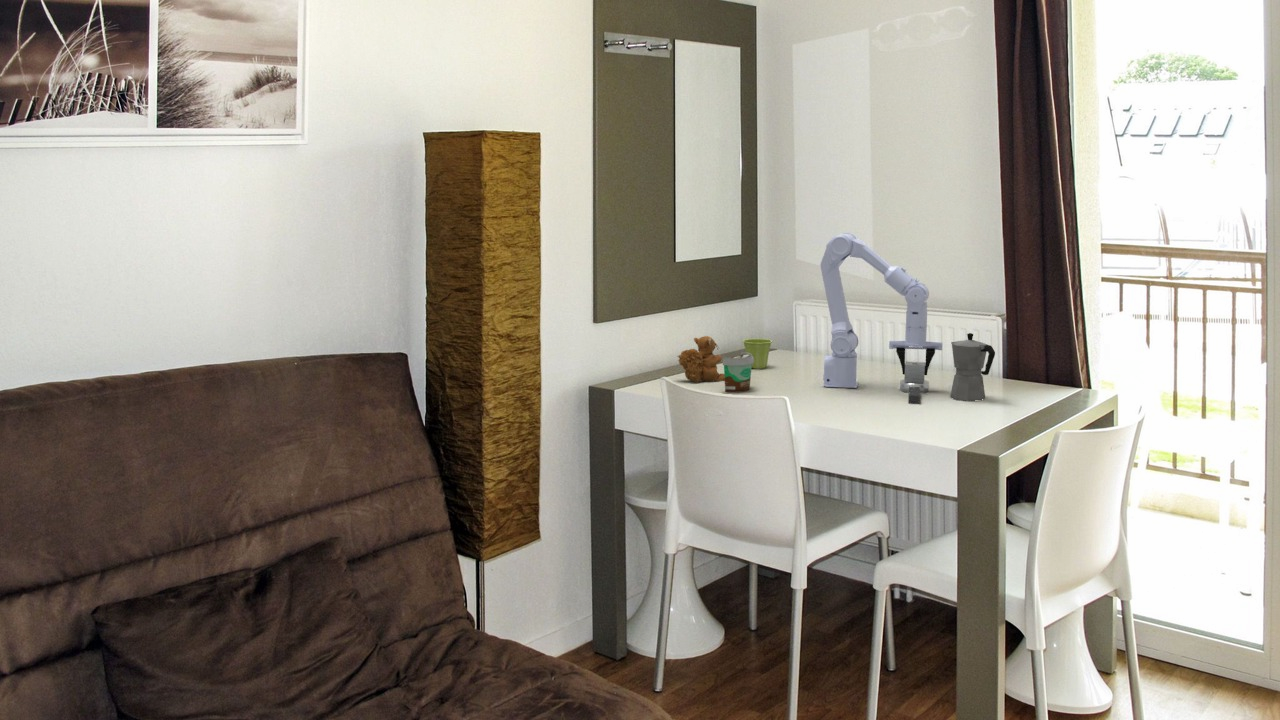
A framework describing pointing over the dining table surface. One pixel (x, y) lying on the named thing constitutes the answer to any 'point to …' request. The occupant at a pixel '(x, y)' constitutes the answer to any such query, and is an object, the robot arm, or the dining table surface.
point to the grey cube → (914, 372)
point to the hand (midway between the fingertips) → (914, 374)
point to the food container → (738, 372)
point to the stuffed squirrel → (701, 361)
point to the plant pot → (758, 351)
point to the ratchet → (914, 390)
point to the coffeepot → (970, 368)
